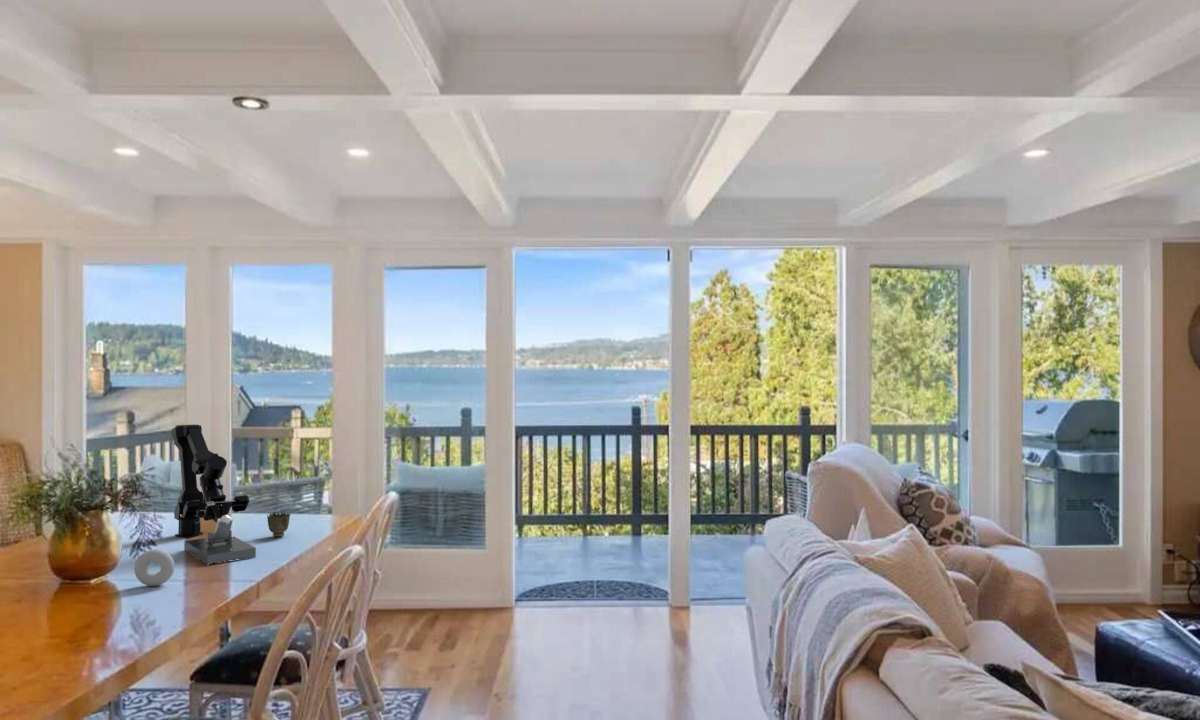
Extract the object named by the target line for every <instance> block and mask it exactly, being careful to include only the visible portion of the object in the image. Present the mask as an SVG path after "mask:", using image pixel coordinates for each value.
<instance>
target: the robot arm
mask: <svg viewBox="0 0 1200 720" xmlns="http://www.w3.org/2000/svg"><path fill="white" fill-rule="evenodd" d="M202 431H203V428H202V426H201V424H195V423H194V424H177V425H175V427H174V428H171V433H170V434H171V438H172V439H173V445H175V447H176V448H177V449H178V450H179V461H180V462H179V463H180V473H181V474H180V475H181V483H182V484H181V485H182V486H181V487H182V488H181V489H182V490H181V493H180V494H179V497H178V498H177V502H176V506H175V509H174V511H173V515H174V519H176V521H178V533H176V534H174V537H180V538H181V537H182V538H192V537H196V536H199V534H200V535H203V534H204V531H201V519H202V518H203V520H204V521H214V522H215V524H217V520H218V519H219V518H221V517H222V516H223V515H229V513H230V510H232V511H233V512H235V513H237V512H245V511H246V510H247V507H248V506H249V503H250V497H249V496H248V494H240V495H234V498H233V499H232V500H231V499H230V500H226V498H227V496H226V494H224V490H223V489H224V484H222V483H221V480H220V478H222V477H223V475H224V472H225V469H226V467H227V464H228V462H227V459H225V458H224V457H223V456H220V455H219V453H214V452H212V451H211V450H209V448H208V445H207V442H206V440H205V438H204V435H203V433H202ZM197 475H200V476H199V479H198V480H199V482H200V483H199V486H200V487H201V490H202V491H200V490H199V488H198V483H197V482H198V480H197ZM202 533H203V534H202Z"/></svg>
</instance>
